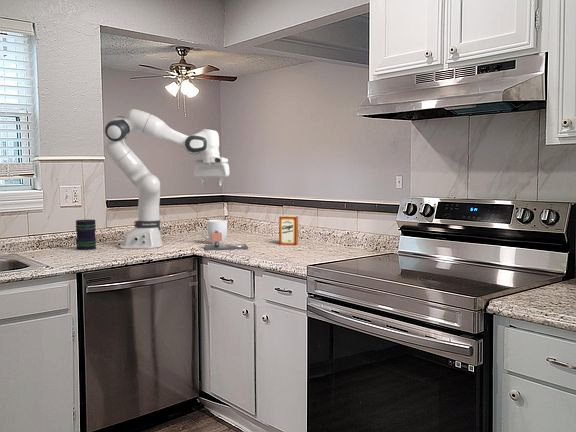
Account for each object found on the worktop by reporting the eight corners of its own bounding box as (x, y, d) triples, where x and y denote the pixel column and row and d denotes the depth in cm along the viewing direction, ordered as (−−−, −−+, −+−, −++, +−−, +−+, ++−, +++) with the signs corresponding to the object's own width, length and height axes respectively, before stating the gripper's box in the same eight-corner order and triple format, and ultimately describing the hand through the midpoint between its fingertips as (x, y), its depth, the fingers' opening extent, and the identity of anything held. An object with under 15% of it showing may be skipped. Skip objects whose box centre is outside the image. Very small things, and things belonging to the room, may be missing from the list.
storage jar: (89, 250, 289) (89, 221, 288) (72, 249, 291) (71, 221, 290) (99, 247, 299) (99, 219, 298) (83, 247, 301) (82, 219, 300)
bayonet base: (205, 250, 291) (205, 236, 290) (204, 247, 303) (204, 233, 302) (248, 249, 295) (248, 235, 295) (245, 246, 307) (245, 233, 307)
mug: (198, 244, 313) (198, 221, 311) (204, 242, 323) (204, 219, 322) (224, 245, 310) (224, 221, 309) (229, 242, 321) (229, 219, 320)
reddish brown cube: (211, 241, 295) (211, 231, 294) (211, 240, 300) (211, 230, 299) (221, 241, 296) (221, 231, 295) (221, 239, 301) (221, 230, 300)
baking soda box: (298, 243, 318) (298, 215, 317) (296, 245, 312) (296, 216, 311) (281, 243, 320) (281, 215, 319) (279, 244, 314) (279, 216, 312)
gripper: (191, 159, 300) (192, 185, 302) (224, 159, 292) (225, 185, 293) (197, 159, 306) (198, 185, 307) (230, 159, 298) (231, 185, 299)
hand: (211, 185), depth 300 cm, fingers open, 8 cm apart
